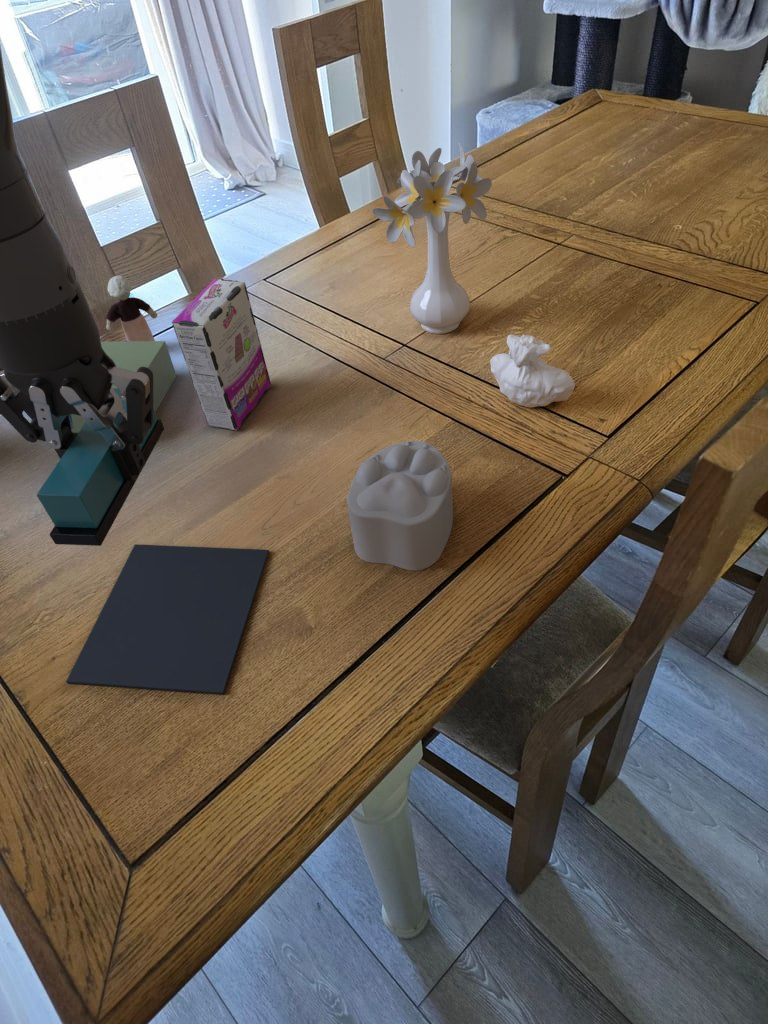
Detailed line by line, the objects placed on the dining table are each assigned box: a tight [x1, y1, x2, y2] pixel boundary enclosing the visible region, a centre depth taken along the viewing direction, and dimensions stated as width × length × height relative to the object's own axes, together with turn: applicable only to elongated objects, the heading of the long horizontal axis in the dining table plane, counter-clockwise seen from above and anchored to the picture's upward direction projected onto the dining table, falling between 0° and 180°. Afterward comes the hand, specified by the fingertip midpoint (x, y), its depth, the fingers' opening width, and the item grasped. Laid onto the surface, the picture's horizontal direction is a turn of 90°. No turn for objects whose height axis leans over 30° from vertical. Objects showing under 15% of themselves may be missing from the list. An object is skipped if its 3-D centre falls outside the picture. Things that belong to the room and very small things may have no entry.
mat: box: [65, 544, 270, 696], centre depth 73 cm, size 16×18×1 cm
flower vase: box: [371, 141, 493, 335], centre depth 100 cm, size 13×18×25 cm
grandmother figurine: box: [105, 275, 158, 341], centre depth 106 cm, size 8×4×13 cm, turn 130°
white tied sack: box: [489, 333, 576, 408], centre depth 90 cm, size 12×8×11 cm
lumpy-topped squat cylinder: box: [346, 440, 454, 572], centre depth 76 cm, size 10×13×9 cm
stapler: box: [36, 388, 165, 547], centre depth 59 cm, size 15×4×5 cm, turn 173°
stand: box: [71, 340, 177, 433], centre depth 98 cm, size 10×17×6 cm, turn 173°
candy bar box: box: [171, 278, 272, 432], centre depth 92 cm, size 11×5×16 cm, turn 161°
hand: (110, 473), depth 60 cm, fingers closed on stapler, 4 cm apart
